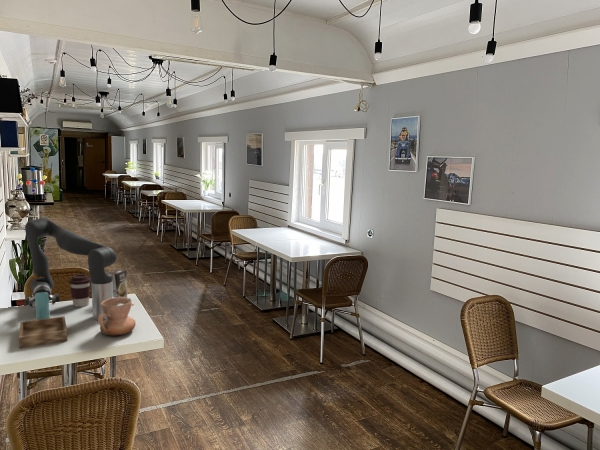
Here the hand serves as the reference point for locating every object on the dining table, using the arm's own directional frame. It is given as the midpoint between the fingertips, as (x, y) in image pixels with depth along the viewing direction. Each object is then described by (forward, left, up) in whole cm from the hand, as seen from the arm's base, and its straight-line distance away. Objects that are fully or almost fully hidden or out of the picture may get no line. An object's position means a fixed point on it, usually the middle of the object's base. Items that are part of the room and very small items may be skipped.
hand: (42, 303), depth 214 cm
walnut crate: (0, +21, -8) cm, 22 cm away
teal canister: (0, +5, -8) cm, 9 cm away
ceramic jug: (-28, +29, -8) cm, 41 cm away
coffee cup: (-17, -15, -8) cm, 24 cm away
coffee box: (-34, -13, -8) cm, 37 cm away
